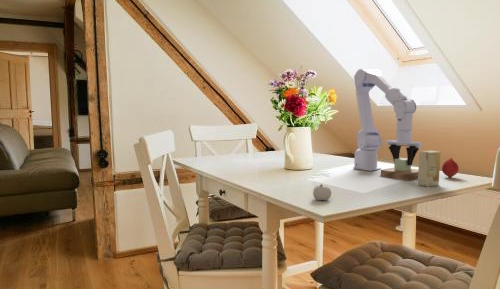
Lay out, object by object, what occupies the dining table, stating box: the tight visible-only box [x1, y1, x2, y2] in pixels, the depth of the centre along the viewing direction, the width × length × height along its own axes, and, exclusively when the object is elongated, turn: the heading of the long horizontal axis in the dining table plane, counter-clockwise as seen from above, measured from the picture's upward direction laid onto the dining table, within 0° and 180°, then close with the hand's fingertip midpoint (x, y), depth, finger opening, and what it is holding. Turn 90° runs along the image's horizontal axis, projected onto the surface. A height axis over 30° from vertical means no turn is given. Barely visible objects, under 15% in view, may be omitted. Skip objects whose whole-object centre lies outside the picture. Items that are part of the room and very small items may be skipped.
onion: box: [441, 157, 460, 179], centre depth 154 cm, size 6×6×8 cm
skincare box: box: [417, 150, 442, 188], centre depth 140 cm, size 6×4×12 cm
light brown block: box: [380, 167, 418, 181], centre depth 158 cm, size 12×12×2 cm
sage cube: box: [393, 157, 412, 172], centre depth 157 cm, size 4×4×4 cm
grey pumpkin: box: [312, 183, 332, 201], centre depth 120 cm, size 6×5×5 cm
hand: (402, 164), depth 157 cm, fingers open, 5 cm apart
